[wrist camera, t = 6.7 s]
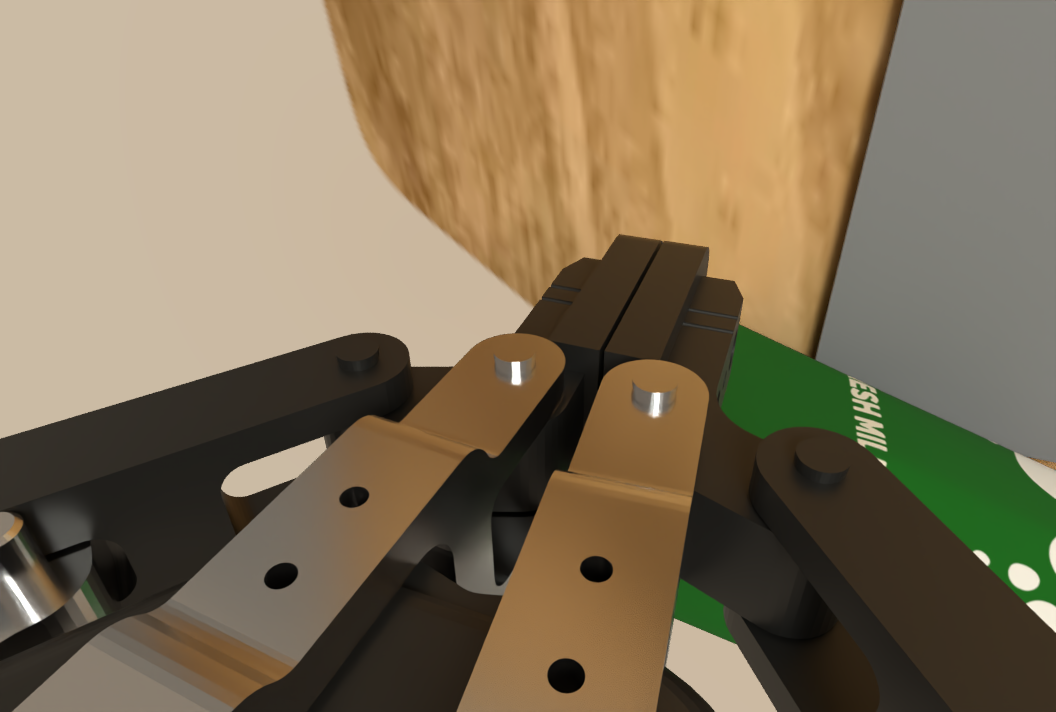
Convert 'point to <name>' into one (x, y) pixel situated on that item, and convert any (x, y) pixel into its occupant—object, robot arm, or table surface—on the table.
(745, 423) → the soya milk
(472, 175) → the table surface
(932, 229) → the mat
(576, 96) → the table surface
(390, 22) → the table surface
